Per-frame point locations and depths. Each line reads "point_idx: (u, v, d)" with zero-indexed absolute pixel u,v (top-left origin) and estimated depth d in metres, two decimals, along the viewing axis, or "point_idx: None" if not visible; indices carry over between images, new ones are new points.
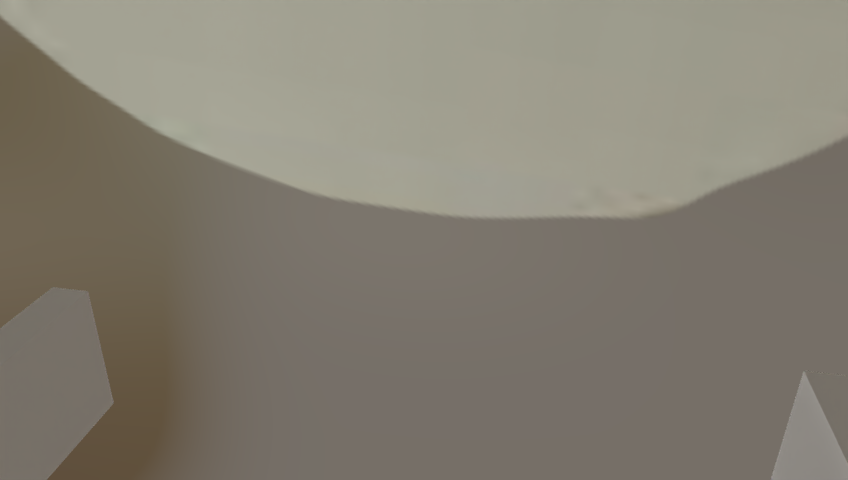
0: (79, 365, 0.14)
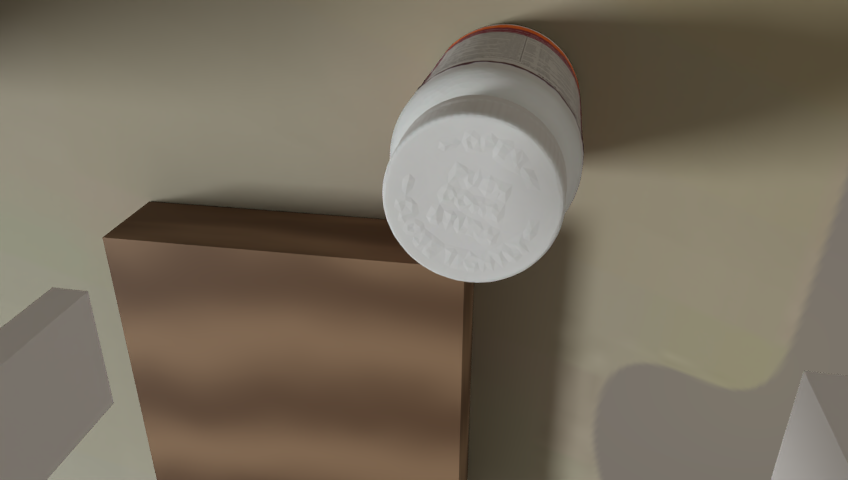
0: (79, 365, 0.14)
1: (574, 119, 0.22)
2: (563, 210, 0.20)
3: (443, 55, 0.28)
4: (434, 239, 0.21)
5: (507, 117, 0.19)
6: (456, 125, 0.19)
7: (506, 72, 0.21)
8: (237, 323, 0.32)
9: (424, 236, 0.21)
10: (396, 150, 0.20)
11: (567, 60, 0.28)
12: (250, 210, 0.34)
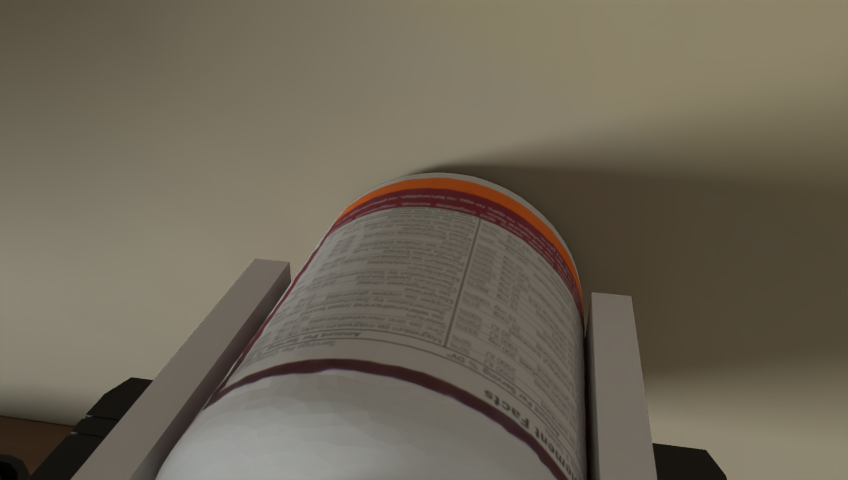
0: None
1: None
2: None
3: (324, 236, 0.15)
4: None
5: None
6: None
7: (397, 425, 0.08)
8: None
9: None
10: None
11: (560, 250, 0.14)
12: (46, 426, 0.21)
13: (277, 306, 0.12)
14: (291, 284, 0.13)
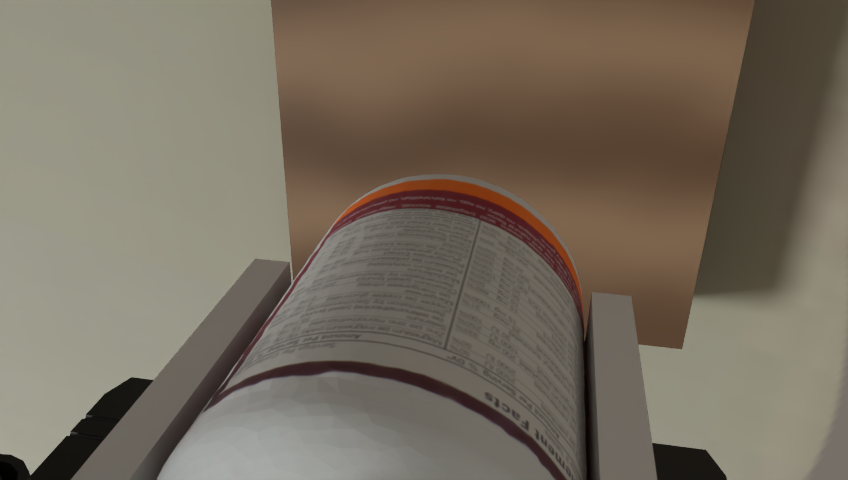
0: None
1: None
2: None
3: (325, 238, 0.15)
4: None
5: None
6: None
7: (398, 428, 0.08)
8: (433, 20, 0.25)
9: None
10: None
11: (560, 251, 0.14)
12: None
13: (277, 308, 0.12)
14: (291, 286, 0.13)
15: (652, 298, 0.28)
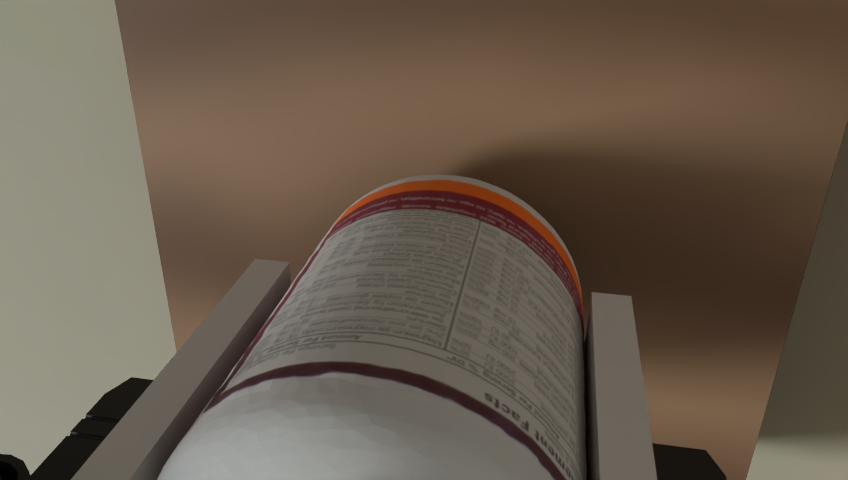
0: None
1: None
2: None
3: (325, 238, 0.15)
4: None
5: None
6: None
7: (398, 428, 0.08)
8: (363, 87, 0.16)
9: None
10: None
11: (560, 252, 0.14)
12: None
13: (277, 308, 0.12)
14: (291, 286, 0.13)
15: None
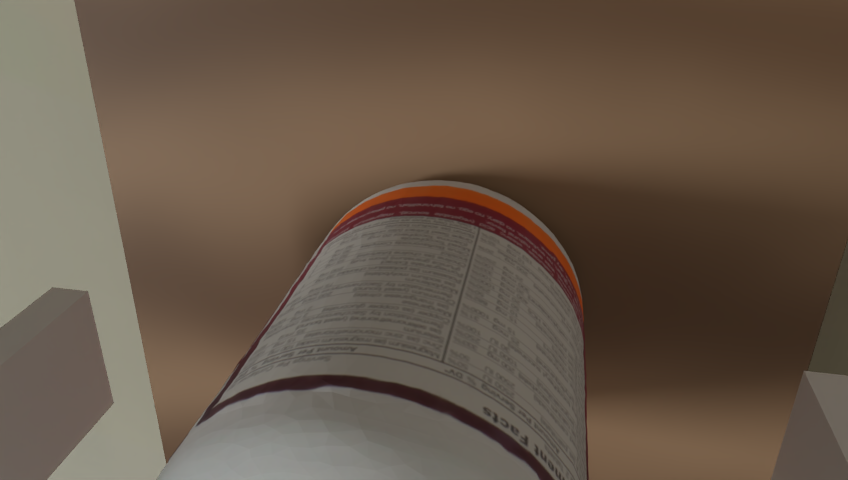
0: (79, 365, 0.14)
1: None
2: None
3: (322, 245, 0.14)
4: None
5: None
6: None
7: (393, 445, 0.08)
8: (346, 108, 0.15)
9: None
10: None
11: (560, 259, 0.14)
12: None
13: (273, 317, 0.12)
14: (287, 294, 0.13)
15: None
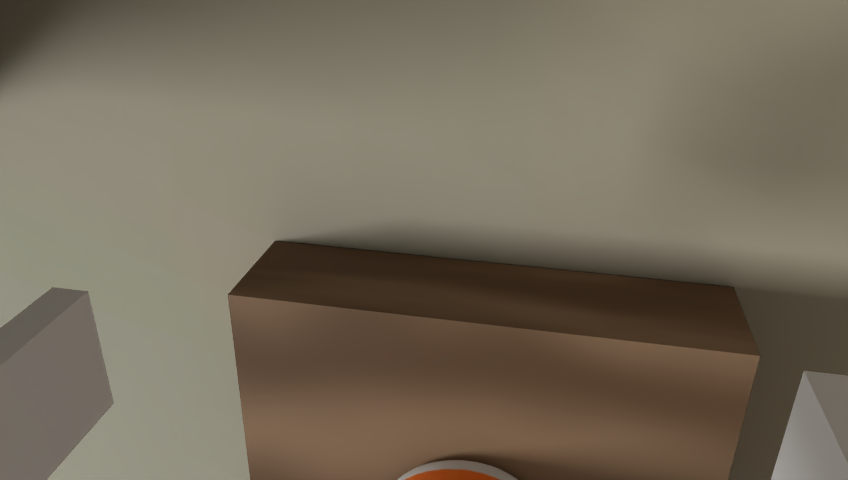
0: (79, 365, 0.14)
1: None
2: None
3: None
4: None
5: None
6: None
7: None
8: (405, 414, 0.24)
9: None
10: None
11: None
12: (414, 256, 0.26)
13: None
14: None
15: None
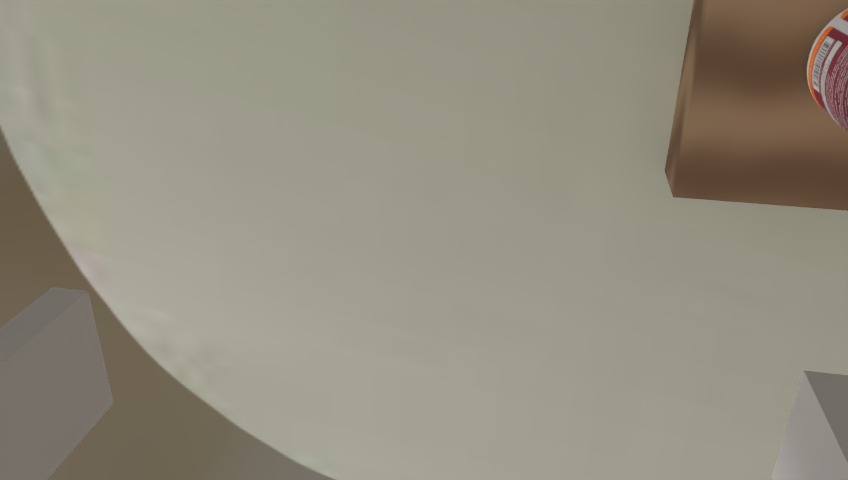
0: (79, 365, 0.14)
1: None
2: None
3: (847, 20, 0.33)
4: None
5: None
6: None
7: None
8: None
9: None
10: None
11: None
12: None
13: None
14: None
15: None
